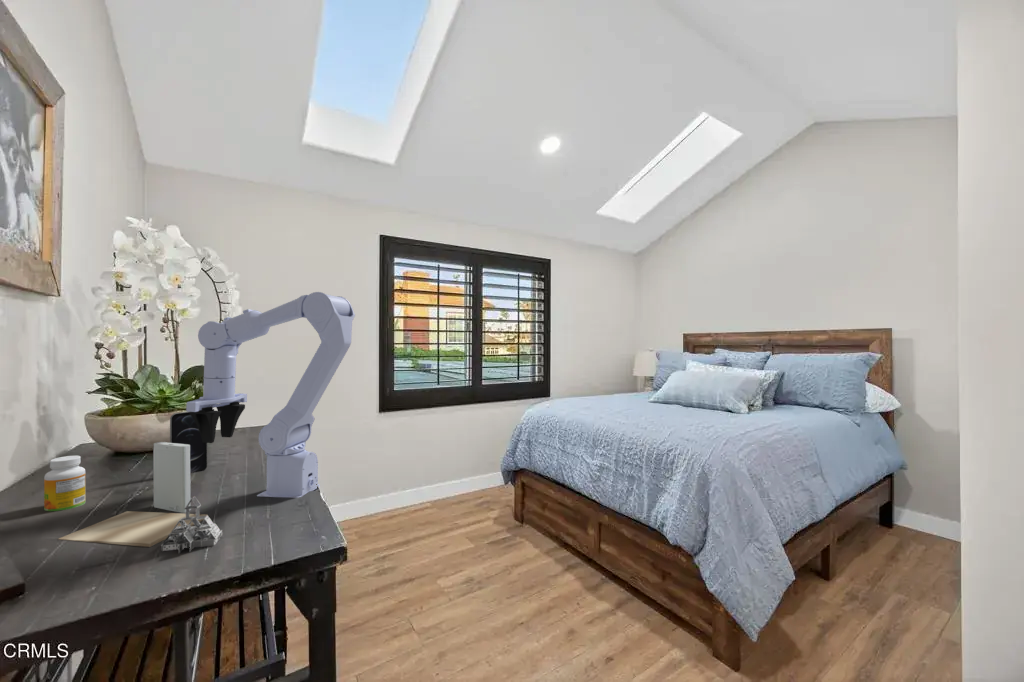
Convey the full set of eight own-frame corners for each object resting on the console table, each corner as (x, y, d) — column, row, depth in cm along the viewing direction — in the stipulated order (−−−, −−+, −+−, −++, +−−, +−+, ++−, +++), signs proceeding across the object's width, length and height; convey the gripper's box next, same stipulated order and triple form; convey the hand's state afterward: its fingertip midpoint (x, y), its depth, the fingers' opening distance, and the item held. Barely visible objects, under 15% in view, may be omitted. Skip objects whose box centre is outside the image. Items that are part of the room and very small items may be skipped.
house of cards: (127, 573, 59) (127, 517, 59) (159, 544, 67) (159, 496, 67) (202, 563, 61) (202, 510, 61) (224, 537, 70) (225, 490, 70)
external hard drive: (182, 513, 78) (182, 446, 78) (151, 508, 81) (152, 443, 81) (191, 510, 80) (191, 444, 80) (161, 505, 82) (161, 441, 82)
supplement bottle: (44, 509, 80) (44, 458, 80) (84, 501, 84) (85, 453, 84) (43, 517, 76) (43, 464, 76) (86, 509, 80) (86, 458, 80)
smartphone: (170, 478, 98) (170, 414, 98) (169, 478, 98) (169, 413, 98) (207, 470, 104) (207, 409, 104) (205, 469, 105) (206, 409, 105)
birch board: (207, 517, 76) (207, 514, 76) (150, 547, 65) (150, 543, 65) (127, 514, 78) (127, 511, 78) (57, 542, 67) (57, 538, 67)
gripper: (228, 374, 100) (226, 431, 100) (173, 379, 85) (171, 446, 85) (256, 375, 99) (254, 433, 99) (205, 381, 85) (203, 448, 85)
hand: (217, 439), depth 92 cm, fingers open, 5 cm apart
